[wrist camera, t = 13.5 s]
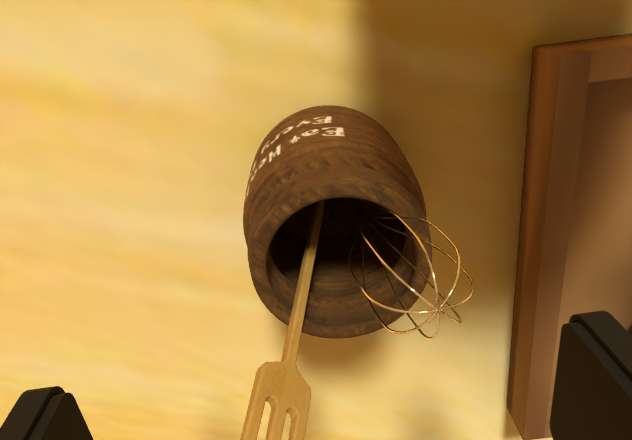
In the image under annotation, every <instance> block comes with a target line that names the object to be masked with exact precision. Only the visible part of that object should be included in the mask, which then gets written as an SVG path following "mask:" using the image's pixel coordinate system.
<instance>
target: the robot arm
mask: <svg viewBox="0 0 632 440" xmlns="http://www.w3.org/2000/svg"><path fill="white" fill-rule="evenodd" d="M550 431H551V435H552V437H553V440H632V335H631V334H630V333H629V332H628V331H627V330H626V329H625V328H624V327H623V326H622V325H621V324H620V323H619V322H618V321H617V320H616V319H615V318H614V317H613V316H612V315H611V314H610V313H609V312H607V311H604V310H602V311H595V312H587V313H580V314H574V315H572V316H571V317H570V320H569V323H566V324H563V326H562V329H561V335H560V343H559V351H558V359H557V367H556V375H555V383H554V391H553V399H552V407H551V415H550ZM0 440H93V438H92V435H91V433H90V431H89V429H88V427H87V425H86V422H85V420H84V418H83V416H82V414H81V411H80V409H79V407H78V405H77V403H76V400H75V398H74V397H73V395H72V394H71V393H65V392H64V390H63V389H62V388H61V387H59V386H55V387H48V388H40V389H33V390H27V391H25V392H24V393H23V394H22V395H21V396H20V397H19V399H18V400H17V402H16V404H15V405H14V407H13V408H12V410H11V412H10V413H9V415H8V417H7V418H6V420H5V421H4V423H3V425H2V426H1V428H0Z"/></svg>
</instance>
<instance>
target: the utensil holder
mask: <svg viewBox="0 0 632 440" xmlns="http://www.w3.org/2000/svg"><path fill="white" fill-rule="evenodd" d="M427 223H428V224H430V225H431V226H433V227H434V228H435V229H437V230H438V231H439V232H440V233H441V234H442V235H443V236H444V237H445V238H446V239H447V240H448V241H449V242H450V243H451V244H452V245H453V247H454V248H455V250H456V252H457V257H458V263H457V262H456V261H455V260H454V259H453V258H452V257H450V256H449V255H448V254H447V253H445V252H444V251H443V250H441V249H440V248H438V247H436V246H434V245H432V244H431V238H430V232H429V227H428V224H427ZM243 227H244V235H245V239H246V244H247V247H248V261H249V268H250V272H251V277H252V281H253V284H254V287H255V289H256V292H257V294H258V296H259V297H260V299H261V301H262V302H263V303H264V305H265V306H266V307H267V309H268V310H269V311H270V312H271V313H272V314H273V315H274V316H275V317H277V318H278V319H279V320H280V321H282V322H283V323H285V324H286V325H288V326H289V327H288V331H287V336H286V341H285V346H284V350H283V355H282V360H281V362H266V363H264V364H263V365H262V366H261V367H259V368H258V370H257V373H256V377H255V381H254V385H253V389H252V393H251V397H250V402H249V406H248V410H247V414H246V419H245V423H244V427H243V431H242V436H241V440H256V439H257V434H258V430H259V426H260V422H261V418H262V414H263V410H264V405H265V401H267V402H269V403H270V406H271V414H270V419H269V424H268V429H267V434H266V440H281V436H282V432H283V427H284V422H285V417H286V412H287V413H289V414H290V416H291V419H292V421H291V428H290V434H289V440H304V436H305V429H306V423H307V417H308V411H309V405H310V398H311V391H310V387H309V385H308V384H307V383H306V381H305V380H304V378H303V377H302V376H301V374H300V373H299V371H298V370H297V367H296V358H297V353H298V347H299V342H300V337H301V332H303V333H306V334H309V335H313V336H318V337H324V338H350V337H357V336H361V335H365V334H369V333H372V332H374V331H377V330H379V329H381V328H384V327H385V328H386V329H387V330H388V331H390V332H393V333H396V334H406V333H410V332H413V331H415V330H417V329H418V331H419V332H420V333H421V334H422V335H423V336H424V337H425V338H427V339H434V338H435V337H436V335H437V333H438V330H439V322H440V313H441V314H443V315H444V316H446V317H447V318H449V319H451V320H452V321H454V322H456V323H461V322H462V320H461V318H460V316H459V315H458V313H457V312H456V311H455V310H454V308H453V307H456V306H458V305H461V304H462V303H464V302H466V301H467V300H468V299H469V298H470V297H471V296H472V294H473V292H474V282H473V280H472V278H471V277H470V276H469V274H468V273H467V272H466V271H465V270H464V269H463V268H462V267H461V266H460V255H459V251H458V249H457V247H456V246H455V244H454V243H453V242H452V241H451V240H450V239H449V238H448V237H447V236H446V235H445V234H444V233H443V232H442V231H441V230H440V229H439V228H437V227H436V226H435V225H433V224H432V223H430V222H428V221H426V211H425V203H424V198H423V195H422V191H421V188H420V186H419V183H418V181H417V179H416V176H415V174H414V173H413V171H412V169H411V167H410V165H409V163H408V162H407V160H406V158H405V157H404V155H403V153H402V152H401V150H400V148H399V147H398V145H397V144H396V142H395V141H394V140H393V138H392V137H391V136H390V134H389V133H388V132H387V131H386V130H385V129H384V128H383V127H382V126H381V125H380V124H379V123H377V122H376V121H375V120H373V119H372V118H370V117H369V116H367V115H365V114H363V113H361V112H359V111H357V110H354V109H351V108H346V107H341V106H317V107H311V108H307V109H304V110H301V111H299V112H297V113H294V114H292V115H291V116H289V117H287V118H286V119H284V120H283V121H281V122H280V123H279V124H278V125H277V126H275V127H274V128H273V129H272V130H271V132H270V133H269V134H268V135H267V137H266V138H265V139H264V141H263V142H262V144H261V146H260V147H259V149H258V152H257V154H256V156H255V159H254V162H253V165H252V168H251V173H250V177H249V181H248V186H247V190H246V196H245V202H244V212H243ZM431 246H432V247H434V248H436V249H438V250H439V251H441V252H442V253H444V254H445V255H446V256H448V257H449V258H450V259H451V260H452V261H453V262H454V263H455V264H456V265H457V266H458V271H457V276H456V279H455V282H454V284H453V287H452V289H451V291H450V292H449V294H448V296H447V297H446V299H445V298H444V297H443V296H442V295H441V293H440V292H439V291H438V289H437V284H436V279H435V275H434V271H433V268H432V265H431V264H432V247H431ZM460 269H461V270H462V271H463V272H464V273H465V274H466V275H467V277H468V278H469V279H470V281H471V283H472V290H471V293H470V294H469V296H468V297H467V298H465V299H464V300H463V301H461V302H459V303H457V304H455V305H452V306H451V305H450V304H449V303H448V302H447V300H448V299H449V297H450V296H451V294H452V292H453V290H454V288H455V286H456V284H457V281H458V278H459V273H460ZM430 270H431V273H432V277H433V281H434V286H435V287H434V286H433V285H432V284H431V282H430V281H429V280H428V278H429V274H430ZM427 282H428V283H429V284H430V285H431V286H432V287H433V288H434V290H435V292H436V300H437V307H436V306H434V305H433V304H431V303H430V302H429V301H428V300H426V299H425V298H424V297H422V296H421V293H422V291H423V290H424V288H425V285H426V283H427ZM438 294H439V295H440V296H441V298H442V299H443V300H444V302H443V303H442V304H441V306H440V307H439V296H438ZM419 297H420V298H421V299H422V300H424V301H425V302H426V303H428V304H429V305H430V306H432V307H433V308H434V310H427V311H408V310H409V309H410V308H411V307H412V305H413V304H414V303H415V302H416V301H417V299H418V298H419ZM445 303H447V305H448V307H444V308H442V307H443V306H444V304H445ZM450 308H451V309H452V310H453V312H454V313H455V314H456V315H457V317H458V318H459V321H458V320H455V319H453V318H452V317H450V316H448V315H447V314H445V313H444V312H443V311H442V310H446V309H450ZM430 312H434V314H433V315H432V316H431V317H430V318H428V319H427V320H426V321H425V322H424V323H422V324H421V325H419V326H417V324H416V323H415V322H414V320H413V319H412V318H411V316H410V315H409V314H408V313H430ZM405 313H406V314H407V315H408V317H409V318H410V320H411V321H412V322H413V324H414V325H415V326H416V328H414V329H412V330H409V331H404V332H398V331H394V330H391V329H389V328H388V327H387V325H389V324H391V323H392V322H394V321H395V320H397V319H398V318H400V317H401V316H402V315H403V314H405ZM436 314H437V328H436V332H435V334H434V336H433V337H427V336H426V335H425V334H424V333H423V332H422V331H421V330H420V329H419V328H421V327H422V326H424V325H425V324H426V323H428V322H429V321H430V320H431V319H432V318H433V317H434V316H435V315H436Z"/></svg>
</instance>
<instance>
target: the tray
mask: <svg viewBox="0 0 632 440" xmlns="http://www.w3.org/2000/svg"><path fill="white" fill-rule="evenodd" d="M602 310H604V311H607V312H609V313H610V314H611V315H612V316H613V317H614V318H615V319H616V320H617V321H618V322H619V323H620V324H621V325H622V326H623V327H624V328H625V329H626V330H627V331H628V332H629V333H630V334H631V335H632V34H626V35H619V36H611V37H603V38H596V39H588V40H580V41H573V42H565V43H557V44H549V45H542V46H534V47H533V52H532V66H531V80H530V94H529V108H528V121H527V135H526V149H525V163H524V176H523V190H522V204H521V218H520V231H519V245H518V259H517V273H516V286H515V300H514V314H513V328H512V341H511V355H510V369H509V383H508V396H507V408H508V410H509V412H510V414H511V416H512V418H513V420H514V422H515V424H516V426H517V429H518V431H519V433H520V435H521V437H522V439H523V440H532V439H540V438H549V437H552V435H551V431H550V415H551V407H552V399H553V391H554V383H555V375H556V367H557V359H558V351H559V343H560V335H561V329H562V326H563V324H566V323H569V320H570V317H571V316H572V315H574V314H580V313H587V312H595V311H602Z"/></svg>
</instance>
